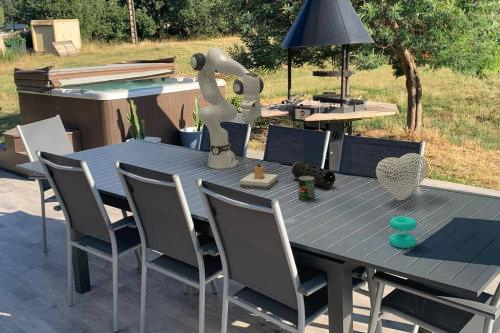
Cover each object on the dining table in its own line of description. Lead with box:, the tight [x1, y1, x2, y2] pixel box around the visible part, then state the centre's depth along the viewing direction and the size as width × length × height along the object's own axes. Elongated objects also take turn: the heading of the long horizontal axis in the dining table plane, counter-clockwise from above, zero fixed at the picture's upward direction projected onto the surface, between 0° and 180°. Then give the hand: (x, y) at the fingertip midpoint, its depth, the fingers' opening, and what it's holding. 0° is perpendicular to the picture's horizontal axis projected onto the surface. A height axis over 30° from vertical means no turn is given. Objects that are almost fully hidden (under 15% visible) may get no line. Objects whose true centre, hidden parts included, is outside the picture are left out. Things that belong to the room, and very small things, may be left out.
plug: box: [253, 163, 265, 179], centre depth 286 cm, size 4×4×10 cm
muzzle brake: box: [290, 161, 336, 190], centre depth 285 cm, size 10×28×10 cm, turn 32°
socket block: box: [239, 172, 279, 191], centre depth 287 cm, size 17×16×4 cm
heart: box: [375, 152, 430, 202], centre depth 250 cm, size 28×16×22 cm, turn 122°
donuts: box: [388, 215, 418, 249], centre depth 199 cm, size 10×10×10 cm
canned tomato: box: [297, 176, 316, 203], centre depth 258 cm, size 8×8×11 cm
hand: (252, 127), depth 295 cm, fingers closed
